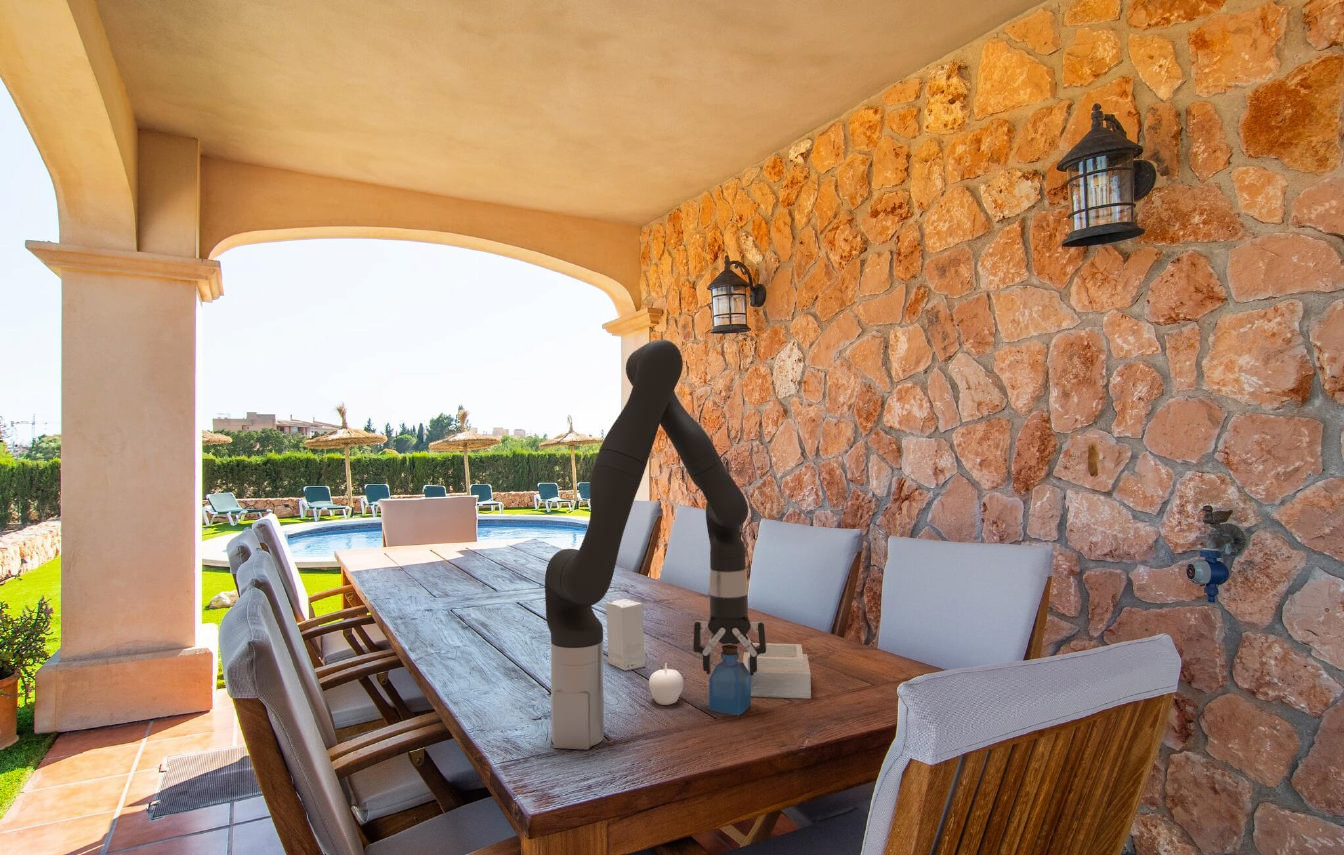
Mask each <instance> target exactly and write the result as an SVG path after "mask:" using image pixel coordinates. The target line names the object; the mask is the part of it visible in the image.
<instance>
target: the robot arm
mask: <svg viewBox="0 0 1344 855" xmlns="http://www.w3.org/2000/svg"><path fill="white" fill-rule="evenodd" d="M683 365H684V362H683V355H682V352H681V350H680V349H679V347H678V346H677V345H676V344H675V343H674V342H672V341H670V340H667V339H657V340H653V341H650V342H648V343H645V344H644V345H642V346H640V347H639V348H638V349H636V350H635V351H633V352H632V353H631V354H630V355H629V356H628V358H627V360H626V363H625V374H626V377H627V379H628V381H629V383H630V385H631V386H632V388H631V391H630V394H629V396H628V399H627V401H626V403H625V405H624V407H623V408H622V411H621V412H620V413H619V415H618V416H617V418H615V421H614V423H613V424H612V425H611V427H610V429H609V430H608V431H607V434H605V435H606V436H605V437H604V439H603V441H602V443H601V446H600V448H599V450H598V453H597V456H596V458H595V461H594V464H593V466H592V469H591V473H590V477H589V478H590V480H589V502H590V503H589V504H590V515H589V521H588V526H587V528H586V531H585V534H584V537H583V540H582V542H581V545H580V547H579V549H577V548H564V549H560V550H559V551H557V552H556V553H554V554H553V555H552V556H551V558H550V560H549V561H548V563H547V566H546V568H545V569H546V570H545V575H544V597H545V599H544V600H545V601H544V602H545V618H546V623H547V627H548V630H549V633H550V677H551V678H550V693H551V694H550V703H551V704H550V707H551V708H550V709H551V710H550V711H551V712H550V715H551V716H550V717H551V720H550V721H551V728H550V729H551V731H550V732H551V734H550V735H551V736H550V737H551V743H552V744H553V748H554V749H566V750H567V749H569V750H570V749H571V750H589V749H590V748H591V747H592V746H595V745H598V744H600V743H601V742H602V741H603V740H604V737H605V736H604V735H605V733H604V732H605V731H604V730H605V728H604V723H605V722H604V721H605V720H604V717H605V716H604V715H605V714H604V709H605V707H604V705H605V704H604V698H605V697H604V626H603V624H602V622H601V621H600V620H599V619H598V617H597V616H596V614H595V613H594V610H593V607H592V606H595V605H596V604H597V603H599V602H601V600H602V599H603V598H604V597H605V596H606V594H607V593H608V591H609V588H610V586H611V584H612V580H613V577H614V574H615V573H614V572H615V569H616V565H617V561H618V557H619V556H618V555H619V551H620V548H621V543H622V540H623V536H624V532H625V530H626V525H627V523H628V520H629V516H630V514H631V510H632V507H633V504H634V501H635V500H636V499H635V498H636V495H637V493H638V490H639V489H640V486H641V483H642V479H643V477H644V474H645V471H646V469H647V468H646V467H647V466H648V462H649V458H650V455H651V451H652V449H653V446H654V443H655V441H656V438H657V434H658V431H659V428H660V426H661V428H662V430H664V432H665V434H666V435H667V437H668V439H669V441H670V442H671V444H672V445H673V447H674V449H675V451H676V452H677V455H678V457H679V458H680V461H681V462H682V464H683V466H684V468H685V470H686V472H687V473H688V476H689V477H690V479H691V481H692V483H693V484H694V485H695V486H696V487H697V488H698V489H700V491H701V492H702V494H703V496H704V497H705V500H706V504H705V505H706V506H705V521H706V528H707V534H708V540H709V545H710V547H709V548H710V550H709V555H710V556H709V557H710V558H709V565H710V568H709V569H710V571H709V586H708V587H709V588H708V589H709V620H708V621H707V620H706V621H705V620H704V621H703V620H701V619H700V618H698V619H696V620H695V622H694V625H693V626H694V627H693V646H692V648H693V649H692V650H693V652H694V653H699V654H700V655H702V670H703V672H706V675H711V674H712V672H711V670H712V668H711V663H712V662H711V652H712V650H713V649H715V646H716V645H717V644H718V643H719V644H721V645H729V644H730V645H738V644H741V645H742V646H743V648H745V649H746V651H748V652H749V653H750V675H754V672H756V671H757V656H758V655H759V654H764V653H765V652H766V643H767V642H766V641H767V640H766V633H765V632H766V629H765V622H764V620H763V619H759V620H758V621H750V619H749V602H748V597H749V595H748V594H749V593H748V590H749V586H748V577H747V576H748V575H747V569H746V568H747V566H746V563H747V561H746V560H747V559H746V546H745V543H744V541H743V540H742V538H741V533H740V526H742V525H743V524H744V523H745V522H746V520H747V518H748V516H749V505H748V502H747V499H746V498H745V496H744V494H743V491H741V489H740V487H739V485H737V483H736V481H735V480H734V478H733V477H732V476H731V475H730V473H729V472H728V470H727V469H726V467H725V465H724V463H723V460H722V458H721V456H720V454H719V453H718V451H717V449H716V447H715V445H714V443H713V440H711V438H710V437H709V435H708V434H707V432H706V431H705V430H704V429H703V428H702V426H701V425H700V424H699V423H698V422H697V421H696V420H695V419H694V418H693V417H692V416H691V415H690V414H689V412H688V411H687V410H686V409H685V407H684V406H683V405H682V403H681V402H680V400H679V398H678V397H677V395H676V393H675V388H676V387H677V385H678V383H679V381H680V379H681V375H682V372H683V368H684V366H683ZM706 628H708V630H709V632H710V633H711V634H712V636H710V638H709V640H708V641H707V643H706V644H705V645H703V644H701V642H702V641H701V639H702V633H704V632H705V630H706ZM751 629H752V630H753V631H754V633H755V634H757V635H758V643H759V646H757V647H755V646H754V645H753V643H754V642H753V641H751V638H750V637H749V636H748V633H749V631H750V630H751Z"/></svg>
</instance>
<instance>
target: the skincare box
mask: <svg viewBox="0 0 1344 855" xmlns="http://www.w3.org/2000/svg"><path fill="white" fill-rule="evenodd" d="M605 607H606V631H607V652H608V653H607V654H608V664H610V665H612V666H613V667H616V668H619V669H621V670H622V671H630V670H634V669H635V670H636V669H641V668H645V667H646V650H645V634H644V633H645V632H644V615H643V613H644V612H643V611H644V610H643V603H642V602H638V601H635V600H632V599H627V598H622V599H617V600H616V599H615V600H612V601H607V602H605Z"/></svg>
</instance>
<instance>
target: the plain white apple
mask: <svg viewBox="0 0 1344 855" xmlns="http://www.w3.org/2000/svg"><path fill="white" fill-rule="evenodd" d="M648 687H649V690H650V692H651V693H650V694H651V695H652V697H653V699H654V701H655V702H656V703H657V704H658V705H661V706H669V705H672V704H675V703H676V702H677V701H678V699H679V698H680V695H681V693H682V691H683V688H684V678H683V676H682V675H681V674H680V672H679V671H677V670H676V669H671V668H668V663H667V662H665V663H664V669H658V670H656V671H655V672H652V674H651V675H650V677H649V680H648Z"/></svg>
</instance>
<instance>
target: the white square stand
mask: <svg viewBox="0 0 1344 855" xmlns="http://www.w3.org/2000/svg"><path fill="white" fill-rule="evenodd" d="M752 643H753V645H754V646H755V647H757V646H759V642H752ZM802 647H803V646H802V644H800V643H770V642H768V643H767V642H766V652H765V653H764V654H759V655H758V656H757V671H756V672H754V675H751V697H756V698H757V697H758V698H759V697H760V698H779V699H780V698H781V699H782V698H783V699H784V698H785V699H807V700H808V699H812V695H811V694H812V689H811V688H812V684H811V682H812V680H811V670H810V668H811V667H810V664H809V658H808V654H807V653H803V648H802ZM742 662H743V663H744V665H745V666H746V668H747V670H748V671H749V673H750V653H749V652H745V651H744V652H743V656H742Z"/></svg>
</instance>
